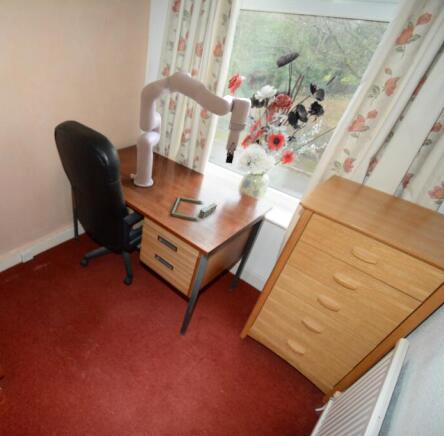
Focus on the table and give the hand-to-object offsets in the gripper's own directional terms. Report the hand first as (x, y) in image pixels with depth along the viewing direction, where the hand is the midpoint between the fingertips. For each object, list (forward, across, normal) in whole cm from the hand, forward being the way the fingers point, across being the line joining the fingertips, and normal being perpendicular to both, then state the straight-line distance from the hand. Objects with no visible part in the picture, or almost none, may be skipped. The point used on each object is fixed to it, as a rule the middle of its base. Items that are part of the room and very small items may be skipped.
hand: (229, 159), depth 142 cm
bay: (+27, +13, -16) cm, 34 cm away
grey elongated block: (+27, +13, -5) cm, 31 cm away
